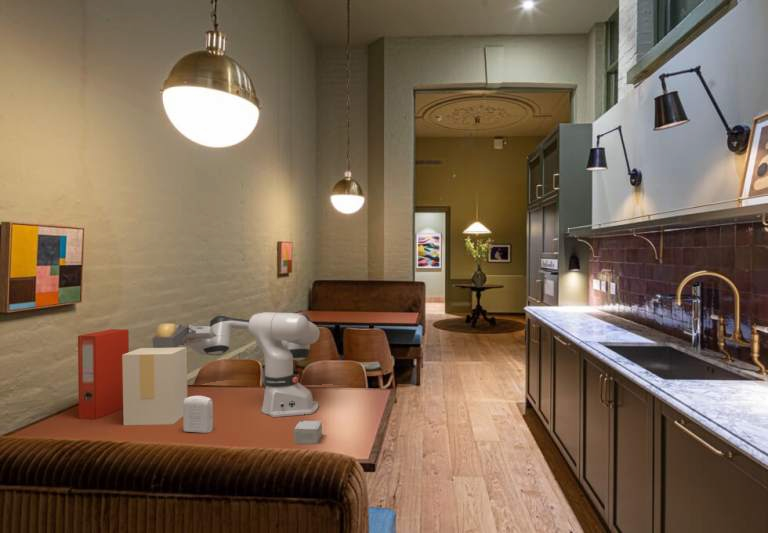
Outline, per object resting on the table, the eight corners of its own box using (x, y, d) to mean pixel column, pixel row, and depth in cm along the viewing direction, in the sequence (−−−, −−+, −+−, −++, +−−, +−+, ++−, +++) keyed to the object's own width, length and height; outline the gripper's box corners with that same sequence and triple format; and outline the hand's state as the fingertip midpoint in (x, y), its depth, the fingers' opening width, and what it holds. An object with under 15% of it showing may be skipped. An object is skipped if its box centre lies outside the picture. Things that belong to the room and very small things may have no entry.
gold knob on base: (174, 349, 181) (171, 326, 179) (153, 350, 181) (151, 327, 179) (194, 332, 202) (192, 311, 200) (176, 332, 201) (174, 312, 200)
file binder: (129, 405, 191) (128, 329, 191) (97, 419, 174) (95, 336, 174) (113, 404, 192) (111, 329, 192) (78, 418, 175) (77, 335, 175)
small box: (317, 444, 148) (317, 429, 148) (293, 444, 148) (293, 428, 148) (322, 435, 156) (322, 420, 156) (299, 435, 156) (299, 420, 156)
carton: (187, 412, 181) (186, 347, 181) (172, 424, 168) (171, 354, 167) (141, 413, 181) (140, 348, 180) (123, 425, 167) (122, 354, 167)
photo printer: (215, 429, 162) (214, 394, 162) (208, 433, 158) (208, 398, 158) (188, 428, 164) (187, 393, 164) (181, 432, 160) (180, 397, 160)
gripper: (216, 343, 210) (206, 332, 198) (171, 344, 210) (158, 333, 198) (218, 330, 213) (208, 319, 201) (174, 331, 213) (161, 319, 201)
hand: (183, 326), depth 199 cm, fingers closed on gold knob on base, 3 cm apart
